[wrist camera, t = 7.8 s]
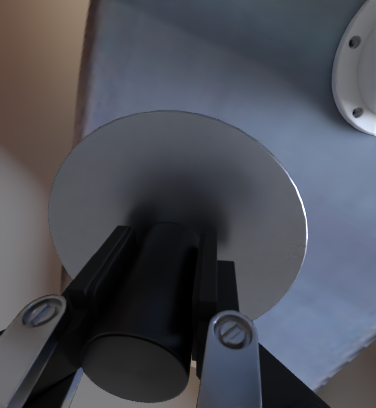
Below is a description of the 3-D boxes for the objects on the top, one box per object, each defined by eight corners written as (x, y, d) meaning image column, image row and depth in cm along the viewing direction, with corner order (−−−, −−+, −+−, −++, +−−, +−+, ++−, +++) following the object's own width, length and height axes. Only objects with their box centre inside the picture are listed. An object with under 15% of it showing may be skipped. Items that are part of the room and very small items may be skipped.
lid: (155, 35, 8) (1, -127, 2) (354, 237, 11) (525, 409, 5) (26, 234, 13) (-135, 347, 7) (185, 344, 16) (165, 497, 10)
